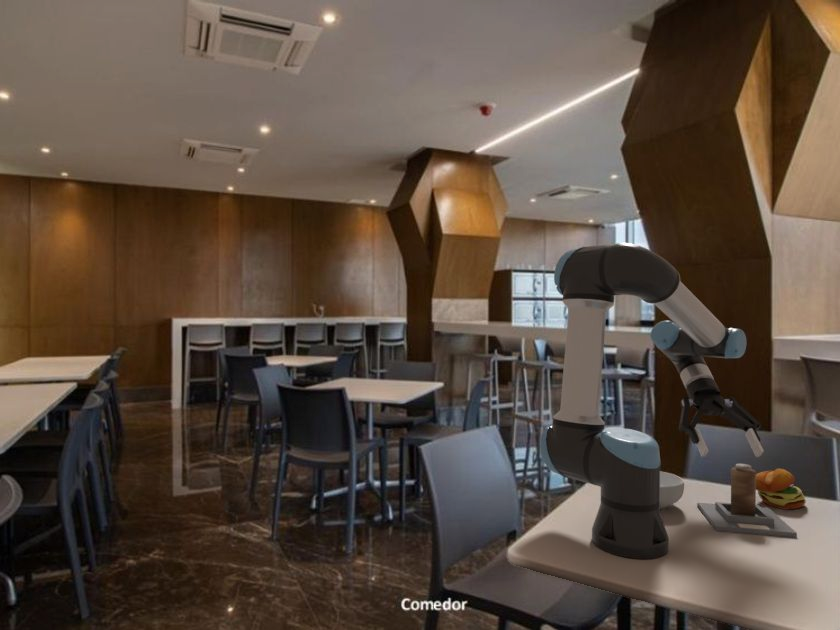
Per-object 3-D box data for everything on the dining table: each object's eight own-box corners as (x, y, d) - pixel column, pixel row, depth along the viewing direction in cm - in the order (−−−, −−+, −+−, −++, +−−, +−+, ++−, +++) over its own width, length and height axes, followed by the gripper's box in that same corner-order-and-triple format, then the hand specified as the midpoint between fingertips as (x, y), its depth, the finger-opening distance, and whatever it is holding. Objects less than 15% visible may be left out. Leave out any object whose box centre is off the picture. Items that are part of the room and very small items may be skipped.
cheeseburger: (816, 512, 135) (805, 472, 135) (769, 519, 137) (759, 480, 138) (797, 498, 145) (787, 461, 145) (753, 505, 147) (744, 468, 147)
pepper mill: (735, 519, 128) (735, 468, 127) (727, 511, 133) (728, 462, 132) (758, 521, 127) (759, 469, 126) (750, 513, 132) (751, 463, 131)
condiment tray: (716, 530, 124) (716, 519, 124) (697, 506, 139) (697, 496, 139) (796, 537, 120) (796, 525, 120) (768, 511, 136) (768, 501, 136)
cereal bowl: (672, 495, 148) (672, 469, 148) (693, 518, 131) (694, 488, 131) (606, 492, 150) (606, 466, 150) (619, 514, 134) (619, 485, 134)
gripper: (739, 393, 152) (775, 462, 137) (650, 393, 152) (676, 462, 137) (751, 376, 147) (790, 445, 132) (659, 376, 146) (687, 445, 131)
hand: (732, 454), depth 134 cm, fingers open, 13 cm apart
